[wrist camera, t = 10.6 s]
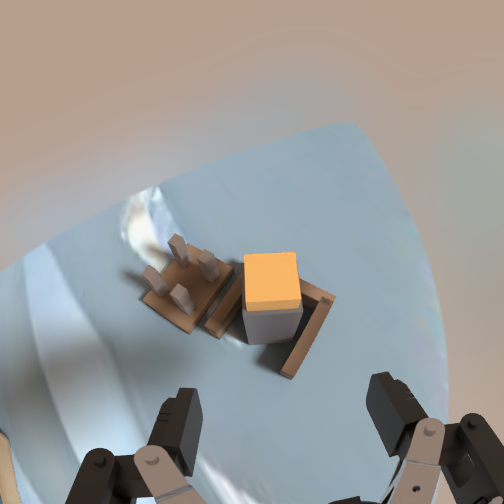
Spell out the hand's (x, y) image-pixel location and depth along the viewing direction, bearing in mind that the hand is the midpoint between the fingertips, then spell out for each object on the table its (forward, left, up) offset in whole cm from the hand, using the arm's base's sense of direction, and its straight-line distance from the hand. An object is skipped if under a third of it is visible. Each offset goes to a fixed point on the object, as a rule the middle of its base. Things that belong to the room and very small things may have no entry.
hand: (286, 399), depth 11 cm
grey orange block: (-4, +6, -13) cm, 15 cm away
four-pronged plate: (-13, +6, -13) cm, 19 cm away
